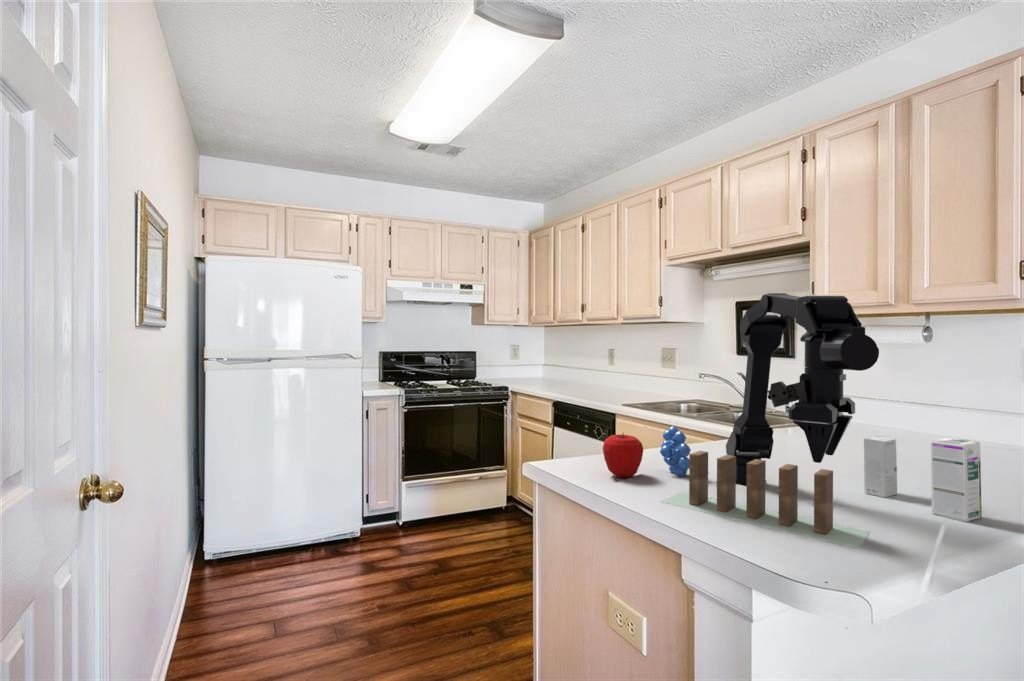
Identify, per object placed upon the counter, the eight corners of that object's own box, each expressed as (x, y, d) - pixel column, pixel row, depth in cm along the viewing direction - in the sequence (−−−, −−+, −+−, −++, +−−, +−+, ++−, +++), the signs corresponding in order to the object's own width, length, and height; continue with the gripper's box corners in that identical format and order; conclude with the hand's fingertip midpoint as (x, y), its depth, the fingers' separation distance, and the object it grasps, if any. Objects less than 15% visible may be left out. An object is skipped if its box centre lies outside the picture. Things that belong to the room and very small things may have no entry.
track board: (681, 494, 112) (681, 491, 112) (870, 535, 88) (870, 531, 88) (659, 504, 105) (659, 501, 105) (858, 552, 81) (858, 548, 81)
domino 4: (778, 524, 92) (778, 468, 92) (786, 518, 95) (786, 463, 95) (789, 527, 90) (789, 470, 90) (797, 520, 94) (797, 465, 94)
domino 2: (716, 510, 99) (716, 458, 99) (726, 505, 103) (726, 454, 103) (726, 512, 98) (726, 460, 98) (735, 507, 101) (735, 456, 102)
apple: (595, 473, 129) (595, 430, 129) (626, 470, 133) (627, 428, 133) (618, 483, 120) (618, 437, 120) (651, 479, 124) (651, 434, 124)
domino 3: (746, 517, 95) (746, 463, 95) (755, 511, 99) (755, 459, 99) (756, 519, 94) (756, 464, 94) (765, 513, 98) (765, 460, 98)
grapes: (648, 470, 133) (649, 423, 133) (672, 469, 135) (673, 423, 135) (671, 482, 122) (671, 431, 122) (697, 480, 123) (697, 430, 123)
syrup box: (967, 522, 95) (967, 444, 95) (930, 513, 100) (930, 438, 100) (982, 518, 98) (982, 441, 98) (944, 509, 103) (944, 436, 103)
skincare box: (886, 498, 110) (886, 441, 110) (862, 493, 114) (862, 438, 114) (898, 493, 114) (898, 438, 114) (875, 489, 117) (875, 435, 117)
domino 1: (689, 504, 103) (689, 454, 103) (699, 499, 106) (699, 450, 107) (698, 506, 102) (698, 455, 102) (708, 501, 105) (708, 451, 105)
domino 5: (813, 532, 88) (814, 473, 88) (821, 525, 91) (821, 468, 91) (826, 535, 87) (826, 475, 87) (832, 528, 90) (833, 470, 90)
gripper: (788, 365, 101) (788, 444, 101) (756, 367, 88) (755, 459, 88) (855, 367, 94) (855, 453, 94) (831, 370, 80) (831, 471, 80)
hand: (823, 458), depth 89 cm, fingers open, 8 cm apart
